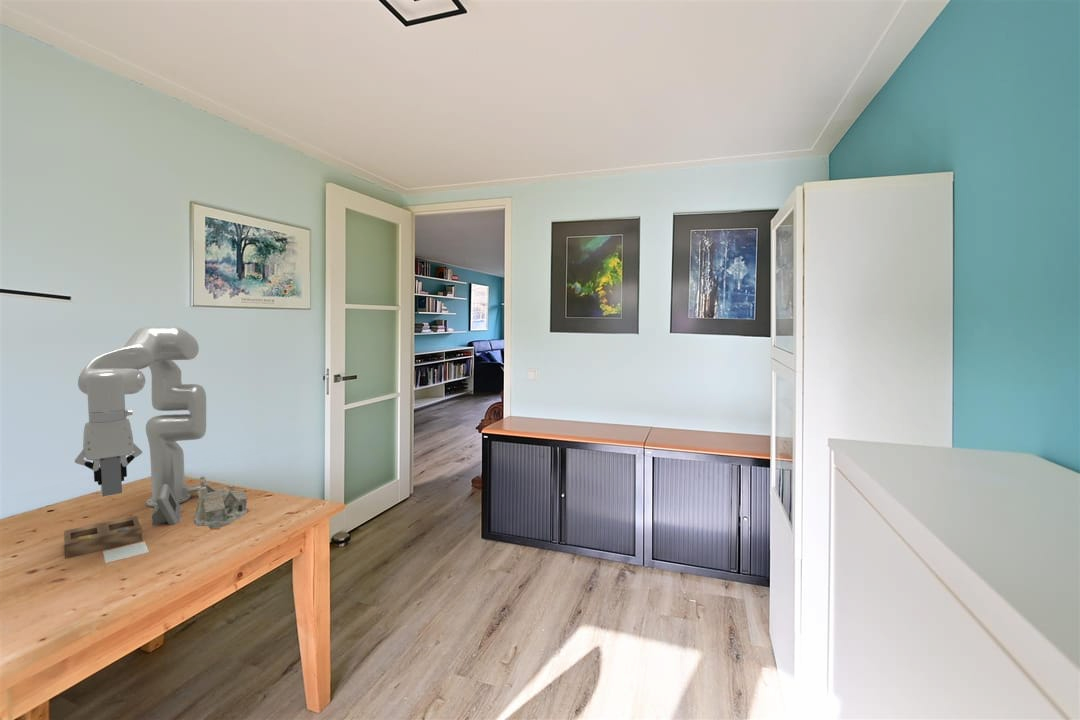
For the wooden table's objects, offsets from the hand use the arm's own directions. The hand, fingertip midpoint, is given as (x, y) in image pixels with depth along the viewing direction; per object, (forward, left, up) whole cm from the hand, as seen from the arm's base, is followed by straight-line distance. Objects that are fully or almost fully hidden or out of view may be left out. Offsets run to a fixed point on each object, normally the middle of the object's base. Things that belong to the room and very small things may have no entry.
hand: (110, 481), depth 133 cm
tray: (-2, +4, -21) cm, 21 cm away
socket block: (+2, -8, -21) cm, 22 cm away
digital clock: (-15, -18, -21) cm, 31 cm away
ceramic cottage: (-27, -9, -21) cm, 35 cm away
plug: (0, 0, -3) cm, 3 cm away
